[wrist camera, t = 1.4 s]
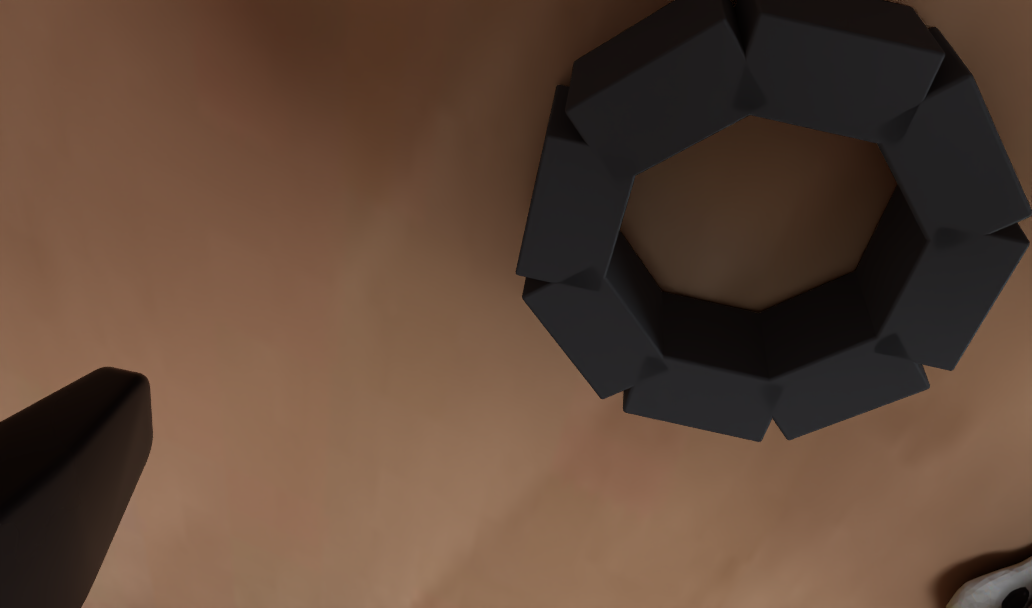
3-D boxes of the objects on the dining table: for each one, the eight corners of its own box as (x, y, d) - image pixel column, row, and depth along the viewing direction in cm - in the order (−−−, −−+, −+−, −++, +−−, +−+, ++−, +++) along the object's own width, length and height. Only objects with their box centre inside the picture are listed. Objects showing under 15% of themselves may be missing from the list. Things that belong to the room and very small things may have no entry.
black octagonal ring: (1068, 41, 17) (1123, 92, 15) (871, 399, 23) (892, 472, 21) (590, -67, 17) (582, -29, 15) (504, 318, 23) (490, 384, 21)
